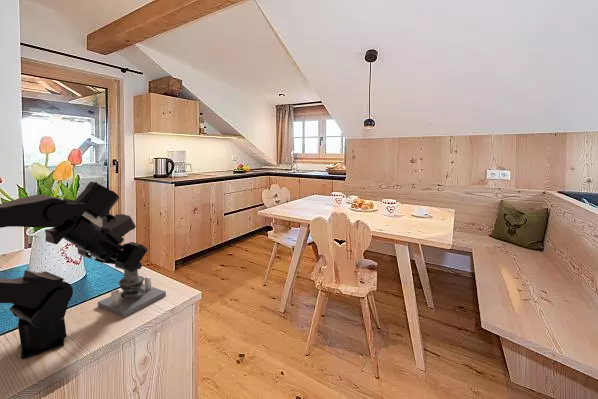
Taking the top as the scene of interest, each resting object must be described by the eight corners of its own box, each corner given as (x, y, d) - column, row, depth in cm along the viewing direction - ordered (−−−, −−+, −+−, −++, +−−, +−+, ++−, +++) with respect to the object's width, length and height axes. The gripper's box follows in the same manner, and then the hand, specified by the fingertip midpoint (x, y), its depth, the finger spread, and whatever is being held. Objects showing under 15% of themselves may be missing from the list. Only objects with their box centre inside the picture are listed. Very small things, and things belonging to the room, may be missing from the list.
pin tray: (123, 317, 71) (122, 299, 70) (98, 306, 75) (96, 289, 74) (165, 295, 81) (165, 279, 80) (141, 286, 86) (140, 271, 85)
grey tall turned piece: (149, 292, 78) (147, 249, 76) (125, 301, 73) (122, 255, 71) (138, 285, 82) (135, 243, 79) (115, 293, 77) (111, 249, 75)
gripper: (137, 211, 66) (178, 245, 78) (87, 201, 74) (131, 233, 85) (103, 256, 60) (153, 285, 72) (53, 240, 68) (105, 268, 80)
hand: (135, 265), depth 77 cm, fingers open, 4 cm apart
